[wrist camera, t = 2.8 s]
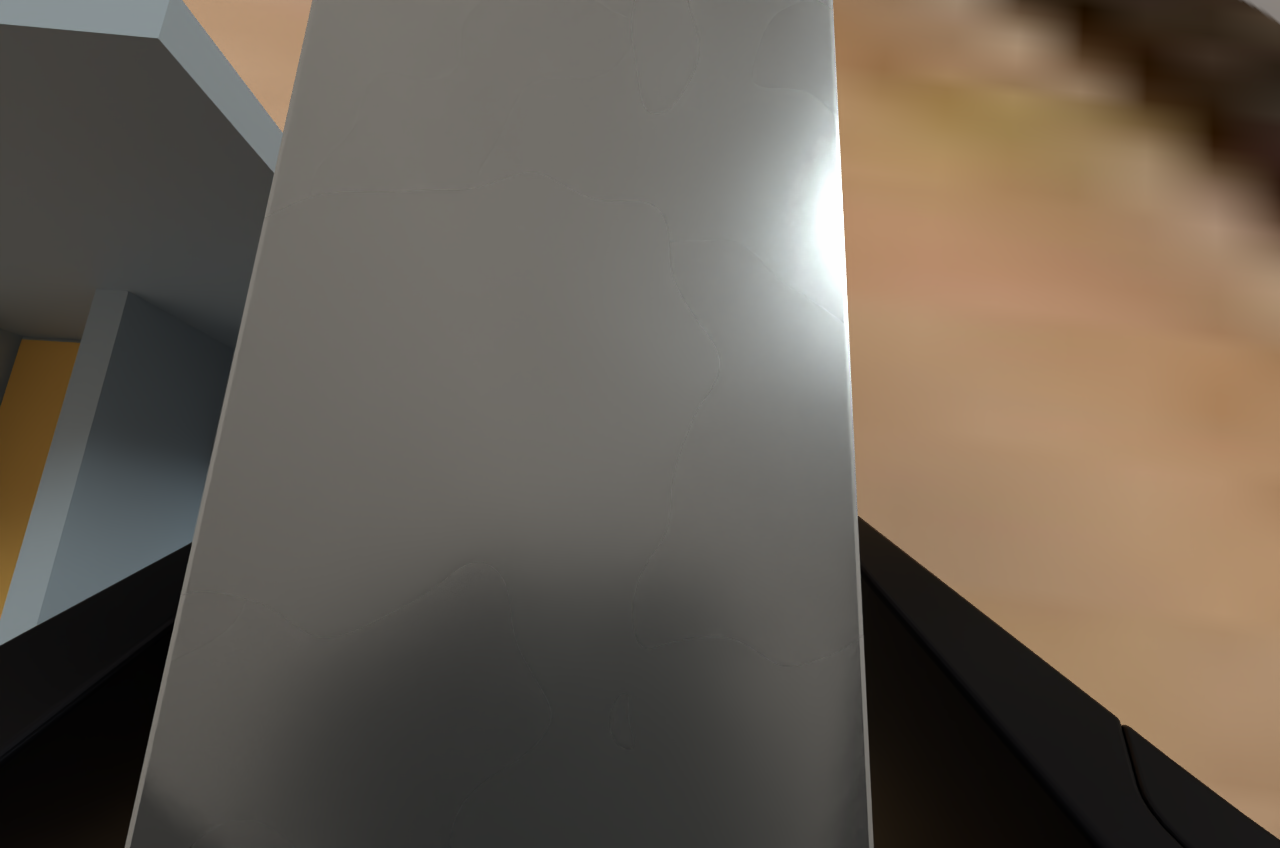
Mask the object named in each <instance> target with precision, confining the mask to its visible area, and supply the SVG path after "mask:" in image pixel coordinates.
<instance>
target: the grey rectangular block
mask: <svg viewBox="0 0 1280 848" xmlns="http://www.w3.org/2000/svg"><path fill="white" fill-rule="evenodd" d="M125 848H874V843H873V823H872V802H871V782H870V761H869V740H868V720H867V699H866V678H865V658H864V637H863V616H862V596H861V575H860V554H859V534H858V513H857V492H856V472H855V451H854V430H853V410H852V389H851V368H850V348H849V327H848V307H847V286H846V265H845V245H844V224H843V203H842V183H841V162H840V141H839V121H838V100H837V79H836V59H835V38H834V18H833V0H313V1H312V5H311V10H310V14H309V19H308V23H307V28H306V32H305V37H304V41H303V46H302V50H301V55H300V59H299V64H298V68H297V73H296V77H295V82H294V86H293V91H292V95H291V100H290V104H289V109H288V113H287V118H286V122H285V127H284V131H283V136H282V140H281V145H280V149H279V154H278V158H277V163H276V167H275V172H274V176H273V181H272V186H271V190H270V195H269V199H268V204H267V208H266V213H265V217H264V222H263V226H262V231H261V235H260V240H259V244H258V249H257V253H256V258H255V262H254V267H253V271H252V276H251V280H250V285H249V289H248V294H247V298H246V303H245V307H244V312H243V316H242V321H241V325H240V330H239V334H238V339H237V343H236V348H235V352H234V357H233V361H232V366H231V370H230V375H229V379H228V384H227V388H226V393H225V397H224V402H223V407H222V411H221V416H220V420H219V425H218V429H217V434H216V438H215V443H214V447H213V452H212V456H211V461H210V465H209V470H208V474H207V479H206V483H205V488H204V492H203V497H202V501H201V506H200V510H199V515H198V519H197V524H196V528H195V533H194V537H193V542H192V546H191V551H190V555H189V560H188V564H187V569H186V573H185V578H184V582H183V587H182V591H181V596H180V600H179V605H178V609H177V614H176V618H175V623H174V628H173V632H172V637H171V641H170V646H169V650H168V655H167V659H166V664H165V668H164V673H163V677H162V682H161V686H160V691H159V695H158V700H157V704H156V709H155V713H154V718H153V722H152V727H151V731H150V736H149V740H148V745H147V749H146V754H145V758H144V763H143V767H142V772H141V776H140V781H139V785H138V790H137V794H136V799H135V803H134V808H133V812H132V817H131V821H130V826H129V830H128V835H127V840H126V844H125Z"/></svg>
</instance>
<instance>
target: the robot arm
mask: <svg viewBox="0 0 1280 848" xmlns="http://www.w3.org/2000/svg"><path fill="white" fill-rule="evenodd" d="M858 534H859V554H860V575H861V596H862V616H863V637H864V658H865V678H866V699H867V720H868V740H869V761H870V782H871V802H872V823H873V843H874V848H1280V840H1279V839H1278V838H1276V837H1275V836H1274V835H1272V834H1271V833H1269V832H1268V831H1267V830H1265V829H1264V828H1263V827H1261V826H1260V825H1258V824H1257V823H1256V822H1254V821H1253V820H1251V819H1250V818H1249V817H1247V816H1246V815H1244V814H1243V813H1242V812H1240V811H1239V810H1238V809H1236V808H1235V807H1234V806H1232V805H1231V804H1230V803H1228V802H1227V801H1226V800H1225V799H1223V798H1222V797H1221V796H1219V795H1218V794H1217V793H1215V792H1214V791H1213V790H1211V789H1210V788H1209V787H1207V786H1206V785H1205V784H1203V783H1202V782H1201V781H1199V780H1198V779H1197V778H1195V777H1194V776H1193V775H1191V774H1190V773H1189V772H1188V771H1186V770H1185V769H1184V768H1182V767H1181V766H1180V765H1178V764H1177V763H1176V762H1174V761H1173V760H1172V759H1170V758H1169V757H1168V756H1166V755H1165V754H1164V753H1163V752H1161V751H1160V750H1159V749H1158V748H1156V747H1155V746H1154V745H1152V744H1151V743H1150V742H1149V741H1147V740H1146V739H1145V738H1143V737H1142V736H1141V735H1140V734H1138V733H1137V732H1136V731H1134V730H1133V729H1132V728H1131V727H1129V726H1127V725H1121V724H1120V721H1119V719H1118V718H1117V717H1116V716H1115V715H1113V714H1112V713H1111V712H1110V711H1108V710H1107V709H1106V708H1105V707H1103V706H1102V705H1101V704H1099V703H1098V702H1097V701H1096V700H1094V699H1093V698H1092V697H1090V696H1089V695H1088V694H1087V693H1085V692H1084V691H1083V690H1081V689H1080V688H1079V687H1078V686H1076V685H1075V684H1074V683H1072V682H1071V681H1070V680H1069V679H1067V678H1066V677H1065V676H1063V675H1062V674H1061V673H1060V672H1058V671H1057V670H1056V669H1054V668H1053V667H1052V666H1051V665H1049V664H1048V663H1047V662H1045V661H1044V660H1043V659H1042V658H1040V657H1039V656H1038V655H1036V654H1035V653H1034V652H1033V651H1031V650H1030V649H1029V648H1027V647H1026V646H1025V645H1024V644H1022V643H1021V642H1020V641H1018V640H1017V639H1016V638H1015V637H1013V636H1012V635H1011V634H1009V633H1008V632H1007V631H1006V630H1004V629H1003V628H1002V627H1000V626H999V625H998V624H997V623H995V622H994V621H993V620H991V619H990V618H989V617H988V616H986V615H985V614H984V613H982V612H981V611H980V610H979V609H977V608H976V607H975V606H973V605H972V604H971V603H970V602H968V601H967V600H966V599H964V598H963V597H962V596H961V595H959V594H958V593H957V592H955V591H954V590H953V589H952V588H950V587H949V586H948V585H946V584H945V583H944V582H943V581H941V580H940V579H939V578H937V577H936V576H935V575H934V574H932V573H931V572H930V571H928V570H927V569H926V568H925V567H923V566H922V565H921V564H919V563H918V562H917V561H916V560H914V559H913V558H912V557H910V556H909V555H908V554H907V553H905V552H904V551H903V550H901V549H900V548H899V547H898V546H896V545H895V544H894V543H892V542H891V541H890V540H889V539H887V538H886V537H885V536H883V535H882V534H881V533H880V532H878V531H877V530H876V529H874V528H873V527H872V526H871V525H869V524H868V523H867V522H865V521H864V520H863V519H862V518H860V517H859V516H858ZM191 546H192V542H191V543H189V544H187V545H186V546H184V547H182V548H180V549H178V550H176V551H174V552H173V553H171V554H169V555H167V556H165V557H163V558H161V559H160V560H158V561H156V562H154V563H152V564H150V565H148V566H147V567H145V568H143V569H141V570H139V571H137V572H135V573H134V574H132V575H130V576H128V577H126V578H124V579H122V580H121V581H119V582H117V583H115V584H113V585H111V586H109V587H108V588H106V589H104V590H102V591H100V592H98V593H96V594H95V595H93V596H91V597H89V598H87V599H85V600H83V601H82V602H80V603H78V604H76V605H74V606H72V607H70V608H69V609H67V610H65V611H63V612H61V613H59V614H57V615H56V616H54V617H52V618H50V619H48V620H46V621H44V622H43V623H41V624H39V625H37V626H35V627H33V628H31V629H30V630H28V631H26V632H24V633H22V634H20V635H18V636H17V637H15V638H13V639H11V640H9V641H7V642H5V643H4V644H2V645H0V848H125V844H126V840H127V835H128V830H129V826H130V821H131V817H132V812H133V808H134V803H135V799H136V794H137V790H138V785H139V781H140V776H141V772H142V767H143V763H144V758H145V754H146V749H147V745H148V740H149V736H150V731H151V727H152V722H153V718H154V713H155V709H156V704H157V700H158V695H159V691H160V686H161V682H162V677H163V673H164V668H165V664H166V659H167V655H168V650H169V646H170V641H171V637H172V632H173V628H174V623H175V618H176V614H177V609H178V605H179V600H180V596H181V591H182V587H183V582H184V578H185V573H186V569H187V564H188V560H189V555H190V551H191Z"/></svg>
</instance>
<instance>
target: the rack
mask: <svg viewBox="0 0 1280 848" xmlns="http://www.w3.org/2000/svg"><path fill="white" fill-rule="evenodd" d="M282 136H283V133H282V132H281V130H280V129H279V128H278V126H277V125H276V124H275V122H274V121H273V120H272V118H271V117H270V116H269V114H268V113H267V112H266V110H265V109H264V108H263V106H262V105H261V104H260V102H259V101H258V100H257V99H256V97H255V96H254V95H253V93H252V92H251V91H250V89H249V88H248V87H247V85H246V84H245V83H244V81H243V80H242V79H241V77H240V76H239V75H238V73H237V72H236V71H235V69H234V68H233V67H232V66H231V64H230V63H229V62H228V60H227V59H226V58H225V56H224V55H223V54H222V52H221V51H220V50H219V48H218V47H217V46H216V44H215V43H214V42H213V40H212V39H211V38H210V36H209V35H208V34H207V33H206V31H205V30H204V29H203V27H202V26H201V25H200V23H199V22H198V21H197V19H196V18H195V17H194V15H193V14H192V13H191V11H190V10H189V9H188V7H187V6H186V5H185V3H184V2H183V1H182V0H0V645H2V644H4V643H5V642H7V641H9V640H11V639H13V638H15V637H17V636H18V635H20V634H22V633H24V632H26V631H28V630H30V629H31V628H33V627H35V626H37V625H39V624H41V623H43V622H44V621H46V620H48V619H50V618H52V617H54V616H56V615H57V614H59V613H61V612H63V611H65V610H67V609H69V608H70V607H72V606H74V605H76V604H78V603H80V602H82V601H83V600H85V599H87V598H89V597H91V596H93V595H95V594H96V593H98V592H100V591H102V590H104V589H106V588H108V587H109V586H111V585H113V584H115V583H117V582H119V581H121V580H122V579H124V578H126V577H128V576H130V575H132V574H134V573H135V572H137V571H139V570H141V569H143V568H145V567H147V566H148V565H150V564H152V563H154V562H156V561H158V560H160V559H161V558H163V557H165V556H167V555H169V554H171V553H173V552H174V551H176V550H178V549H180V548H182V547H184V546H186V545H187V544H189V543H191V542H193V537H194V533H195V528H196V524H197V519H198V515H199V510H200V506H201V501H202V497H203V492H204V488H205V483H206V479H207V474H208V470H209V465H210V461H211V456H212V452H213V447H214V443H215V438H216V434H217V429H218V425H219V420H220V416H221V411H222V407H223V402H224V397H225V393H226V388H227V384H228V379H229V375H230V370H231V366H232V361H233V357H234V352H235V348H236V343H237V339H238V334H239V330H240V325H241V321H242V316H243V312H244V307H245V303H246V298H247V294H248V289H249V285H250V280H251V276H252V271H253V267H254V262H255V258H256V253H257V249H258V244H259V240H260V235H261V231H262V226H263V222H264V217H265V213H266V208H267V204H268V199H269V195H270V190H271V186H272V181H273V176H274V172H275V167H276V163H277V158H278V154H279V149H280V145H281V140H282Z"/></svg>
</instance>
